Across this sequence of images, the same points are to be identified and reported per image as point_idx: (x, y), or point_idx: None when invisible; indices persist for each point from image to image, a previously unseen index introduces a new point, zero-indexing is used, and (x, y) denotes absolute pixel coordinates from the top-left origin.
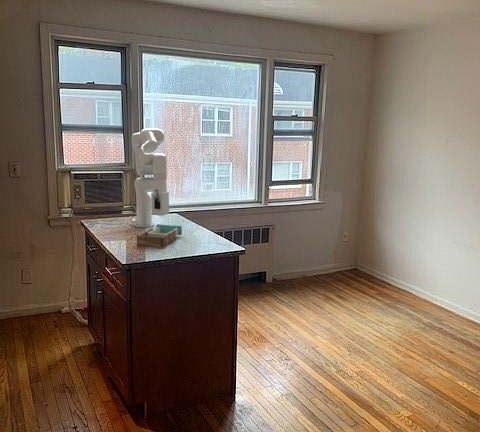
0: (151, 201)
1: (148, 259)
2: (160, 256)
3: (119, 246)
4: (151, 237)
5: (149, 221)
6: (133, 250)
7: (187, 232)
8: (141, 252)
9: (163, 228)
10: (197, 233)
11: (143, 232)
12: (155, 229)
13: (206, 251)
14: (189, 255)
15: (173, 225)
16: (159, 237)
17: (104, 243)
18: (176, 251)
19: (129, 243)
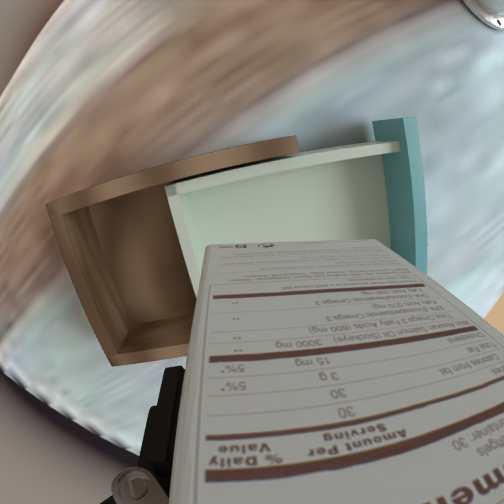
0: (188, 367)
1: (3, 355)
2: (46, 374)
3: (38, 111)
4: (83, 301)
5: (499, 8)
6: (23, 229)
7: (469, 246)
8: (26, 283)
9: (398, 174)
10: (460, 298)
11: (139, 174)
12: (312, 164)
13: None
14: (125, 440)
15: (422, 249)
16: (103, 348)
17: (59, 6)
18: (130, 395)
19: (107, 103)
